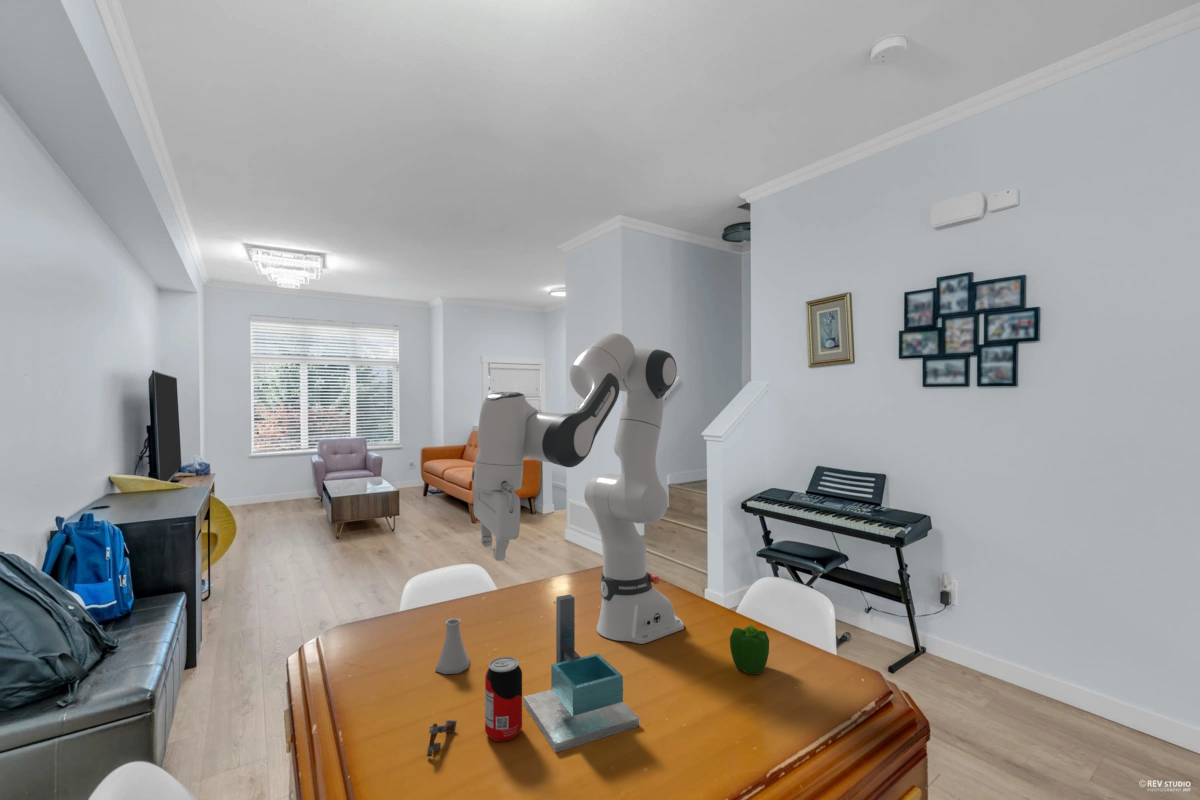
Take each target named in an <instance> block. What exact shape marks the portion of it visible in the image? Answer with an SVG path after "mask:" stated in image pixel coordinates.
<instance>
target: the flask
mask: <svg viewBox="0 0 1200 800" xmlns="http://www.w3.org/2000/svg"><path fill="white" fill-rule="evenodd" d="M461 622H462V621H461V619H459V618H449V619H448V620H446V621H445V624H444V625H445V626H446V635H445V640H444V643H443V647H442V650H441V652H440V653H441V654H440V657H439V660H438V662H437V666H436V668H435V672H437V673H440V674H443V675H455V674H460V673H462V672H464V671H465V670H467V669H469V667H470V663H471V660H470V657H469V655H468V653H467V650H466V647H465V644H464V643H463V639H462V636H461V631H460V625H461Z"/></svg>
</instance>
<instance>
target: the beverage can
mask: <svg viewBox="0 0 1200 800" xmlns="http://www.w3.org/2000/svg"><path fill="white" fill-rule="evenodd" d="M522 671H523V670H522V668H521V667H520V665H519V660H518V659H517V658H515V657H511V656H501V657H497V658H494V659H492V660H491V661H490V662H489V663H488V669H487V671H486V672H485V678H484V681H485V682H484V686H485V687H484V696H485V697H484V709H485V710H484V723H485V724H484V726H485V727H484V731H485V734H486V735H487V736H488V737H489V738H491V739H492V740H493V741H494V742H507V741H511V740H513V739H514V738H515V737H516V736H517V735H518V734H520V732H521V730H522V727H523V672H522Z"/></svg>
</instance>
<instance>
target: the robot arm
mask: <svg viewBox="0 0 1200 800" xmlns="http://www.w3.org/2000/svg"><path fill="white" fill-rule="evenodd" d="M676 377H677V363H676V360H675V358H674V357H673V355H672V354H671V353H670V352H668V351H665V350H662V349H648V348H635V347H634V344H633V342H632V341H631V340H630V339H629V338H628V337H627V336H626V335H624V334H621V333H615V332H614V333H609V334H606V335H605V336H603V337H601V338H599V339H598V340H596V341H593V343H591V344H590V345H589V346H588V347H587V348H586V349H584V350H583V351H582V352H581V353H580V354H579V355H578V356H577V357H576V358H575V360H574V361H573V362H572V364H571V366H570V371H569V380H570V383H571V386H572V388H573V389H574V391H575V392H576V393H577V395H579V397H581V398H582V399H583V401H582V402H581V405H580V406H579V407H578V409H577V410H574V411H572V412H566V413H558V412H544V411H539V409H536V408H535V407H534V406H532V405H531V403H529V402H528V401H527V400H526V395H525V394H523V393H521V392H518V391H517V392H516V391H507V392H506V391H505V392H504V391H500V392H494V393H490V394H489V395H487V396H486V397H485V398H484V400H483V403H482V405H481V409H480V414H479V419H478V425H477V442H478V452H477V454H476V456H475V457H476V458H475V462H474V463H475V464H474V468H473V470H472V472H471V481H472V482H473V500H472V501H473V502H472V503H473V506H472V507H473V508H472V509H473V515H474V517H475V518H476V519H477V520H478V521H479V522H480V525H479V526H480V535H481V536H480V537H481V540H480V544H481V545H482V546H483V547H484V548H485V547H491V546H492V544H493V536H494V537H495V547H494V548H493V555H492V556H493V559H495V561H496V562H498V561H504V560H505V559H506V552H507V549H508V546H509V544H510V541H512V540H517V539H518V537H519V535H520V531H521V530H520V529H521V500H520V496H519V495H518V494H517V493H515V491H519V490H521V489H522V485H523V474H524V459H528V460H533V461H538V462H546V463H552V464H553V465H558V466H561V467H564V468H565V467H566V468H574V467H577V466H579V464H581V463H582V462H583V461H585V459H587V457H588V455H590V452H591V450H592V448H593V445H594V442H595V439H596V437H597V435H598V433H599V431H600V430H601V428H602V426H603V425H604V423H605V421H607V418H608V417H609V415H610V413H611V411H612V410H613V408H614V406H615V404H616V403H617V401H618V398H619V394H620V391H621V392H626V399H625V400H624V404H623V406H622V409H621V413H620V417H619V420H618V425H617V429H616V435H615V438H614V444H613V451H614V453H615V455H616V456H617V458H619V461H620V468H621V470H620V471H621V474H619V475H618V474H613V473H605V474H600V475H599V474H598V475H595V476H593V477H591V478H590V479H589V480H588V481H587V482H586V486H585V488H584V492H583V493H584V495H583V496H584V501H585V503H586V505H587V507H588V508H589V510H591V512H592V514H593V516H594V519H595V522H596V523H597V527H598V531H599V534H600V538H601V546H602V547H601V549H602V573H601V578H600V580H601V581H600V582H601V583H600V591H601V592H600V593H601V605H600V611H599V612H600V614H599V618H598V622H597V625H596V632H597V633H598V635H601V636H602V637H604V638H606V639H609V640H613V641H618V642H619V641H621V642H630V643H631V642H632V643H634V644H639V645H641V644H642V645H643V644H646V643H649V642H652V641H655V640H658V639H660V638H663V637H666V636H669V635H672V634H673V633H676V632H679V631H681V630H684V627H685V626H684V622H683V621H682V619H680V617H678V616H677V615H675V610H674V605H673V603H672V601H671V600H670V599H669V598H668V597H667V596H665V595H664V594H663V593H661V592H660V591H659V590H657V589H656V588H655V587H653V584H654V585H659V584H660V582H661V578H660V577H659V576H658V575H656V574H651V573H650V572H647V545H646V541H645V539H644V538H643V536H642V535H640V533H639V532H638V530H637V528H636V526H635V524H654V523H657V522H659V521H661V519H663V517H664V516H665V514H666V512H667V510H668V504H669V499H668V495H667V491H666V490H665V488H664V487H663V485H662V484H661V482H660V480H659V477H658V472H657V471H658V470H657V463H656V461H657V450H658V446H659V445H658V444H659V438H660V434H661V429H662V422H663V416H664V415H663V414H664V412H663V411H664V397H665V396H666V394H667V392H668V391H669V390H671V388H672V387H673V385H674V383H675V381H676ZM492 534H493V535H492ZM652 583H653V584H652Z"/></svg>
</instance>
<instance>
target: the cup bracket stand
mask: <svg viewBox="0 0 1200 800" xmlns="http://www.w3.org/2000/svg"><path fill="white" fill-rule="evenodd" d="M555 598H556V599H555V603H556V604H555V605H556V609H555V610H556V613H555V614H556V617H555V618H556V620H555V622H556V623H555V624H556V625H555V627H556V629H555V630H556V631H555V633H556V637H555V639H556V642H555V644H556V648H555V651H556V653H555V655H556V656H555V658H556V659H555V660H556V661H555V662H556V663H552V664H551V665H550V666H551V676H550V677H551V679H550V680H551V681H550V682H551V688H550V689H548V690H544V691H539V692H536V693H535V692H534V693H532V694H528V695H524V696H523V706H524V707H525V709H526V710H527V711H528V713H529V714H530V716H531V718H532V719H533V721H534V722H535V724H536V725H537V727H538V729H539V730H540V731H541V733H542V735H543V737H544V738H545V740H547V742H548V745H550V747H551V748H552V750H553V752H554V753H555V754H557V753H559V752H563V751H566V750H569V749H572V748H575V747H578V746H581V745H585V744H589V743H591V742H594V741H597V740H601V739H605V738H606V737H610V736H613V735H616V734H619V733H622V732H626V731H629V730H632V729H636V728H638V727H640V717H639V716H638V715H637V713H635V712H634V711H633V709H631V707H629V706H628V705H627V704H626V703H625V702H624V676H623V674H621V672H619V671H618V670H617V669H616V668H615V667H614V666H613V665H611V663H610V662H608V661H607V660H606V659H605V658H604V657H603V656H602V655H601V654H599V653H595V654H590V655H587V656H580V654H578V652H577V651H575V650H576V649H575V648H576V647H575V645H576V644H575V643H576V642H575V628H576V627H575V626H576V625H575V624H576V623H575V620H576V619H575V617H576V616H575V614H576V613H575V610H576V609H575V597H574V596H573V595H572V594H570V593H569V594H566V595H558V596H556V597H555Z"/></svg>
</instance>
